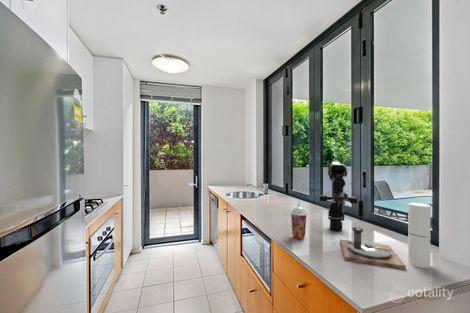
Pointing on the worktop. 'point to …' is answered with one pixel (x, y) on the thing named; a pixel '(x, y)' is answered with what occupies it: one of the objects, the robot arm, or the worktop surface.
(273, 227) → the worktop surface
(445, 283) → the worktop surface
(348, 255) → the board
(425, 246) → the cylindrical container
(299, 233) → the smoothie
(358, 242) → the dial
